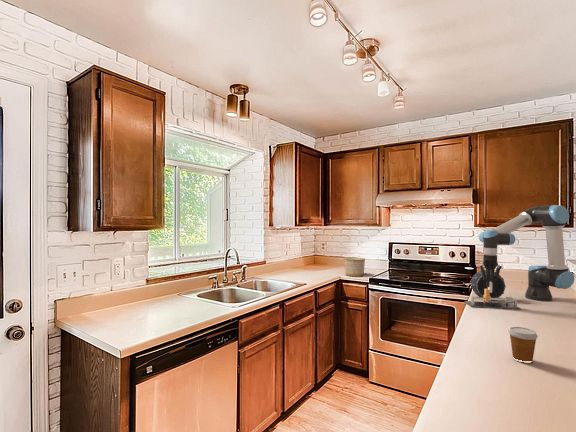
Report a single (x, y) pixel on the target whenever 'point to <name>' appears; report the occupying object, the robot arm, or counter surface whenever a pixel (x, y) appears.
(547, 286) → the robot arm
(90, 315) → the counter surface
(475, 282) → the studded round pot
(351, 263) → the planter
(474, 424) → the counter surface
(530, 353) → the disposable coffee cup
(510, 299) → the grey slide rail
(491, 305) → the bolt plate
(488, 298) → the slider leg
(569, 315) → the counter surface
